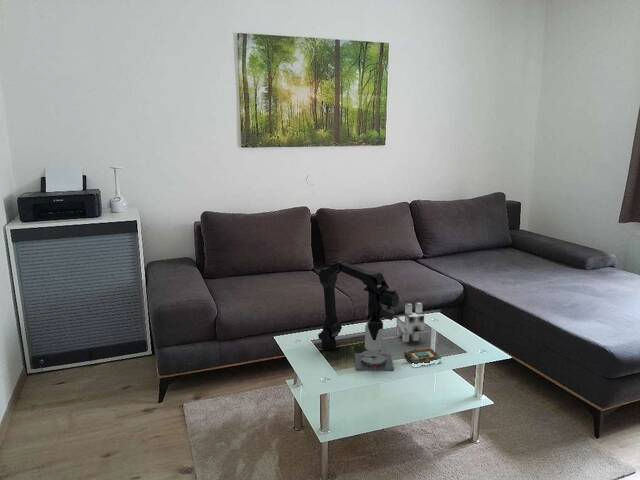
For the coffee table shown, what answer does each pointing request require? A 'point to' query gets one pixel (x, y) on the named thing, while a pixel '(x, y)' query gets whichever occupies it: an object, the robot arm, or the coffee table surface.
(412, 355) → the decorative book
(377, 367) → the square metal dish
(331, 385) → the coffee table surface
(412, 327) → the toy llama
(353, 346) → the coffee table surface
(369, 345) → the can
